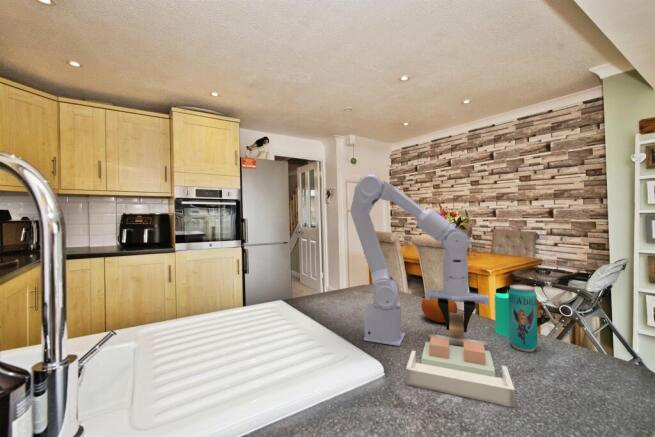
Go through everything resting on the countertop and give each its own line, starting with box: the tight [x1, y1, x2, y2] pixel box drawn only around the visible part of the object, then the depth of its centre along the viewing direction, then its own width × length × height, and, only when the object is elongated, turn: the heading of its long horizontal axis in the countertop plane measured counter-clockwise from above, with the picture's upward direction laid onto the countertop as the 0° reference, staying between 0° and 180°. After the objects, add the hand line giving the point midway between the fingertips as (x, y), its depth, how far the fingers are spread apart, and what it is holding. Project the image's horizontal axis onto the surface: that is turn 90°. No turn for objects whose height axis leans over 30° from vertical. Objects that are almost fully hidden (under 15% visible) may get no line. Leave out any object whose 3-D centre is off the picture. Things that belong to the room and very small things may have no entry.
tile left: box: [429, 336, 449, 359], centre depth 66 cm, size 4×5×2 cm
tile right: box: [463, 341, 486, 365], centre depth 63 cm, size 4×5×2 cm
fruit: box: [421, 296, 458, 323], centre depth 91 cm, size 11×10×8 cm
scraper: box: [427, 312, 489, 351], centre depth 73 cm, size 13×8×6 cm, turn 66°
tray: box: [405, 350, 516, 409], centre depth 56 cm, size 18×8×3 cm, turn 66°
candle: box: [494, 292, 509, 338], centre depth 80 cm, size 6×6×12 cm
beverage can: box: [508, 284, 538, 353], centre depth 71 cm, size 6×6×15 cm
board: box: [421, 341, 496, 377], centre depth 64 cm, size 14×10×2 cm
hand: (456, 329), depth 73 cm, fingers closed on scraper, 3 cm apart
